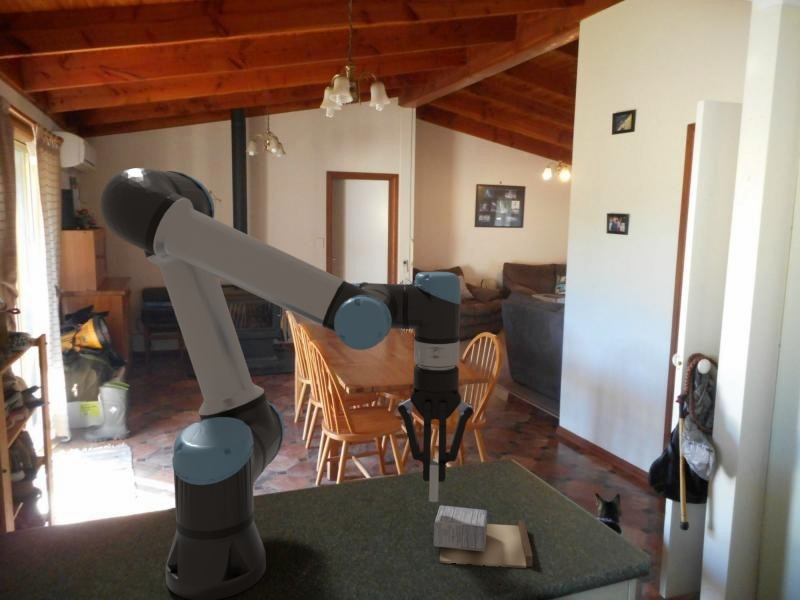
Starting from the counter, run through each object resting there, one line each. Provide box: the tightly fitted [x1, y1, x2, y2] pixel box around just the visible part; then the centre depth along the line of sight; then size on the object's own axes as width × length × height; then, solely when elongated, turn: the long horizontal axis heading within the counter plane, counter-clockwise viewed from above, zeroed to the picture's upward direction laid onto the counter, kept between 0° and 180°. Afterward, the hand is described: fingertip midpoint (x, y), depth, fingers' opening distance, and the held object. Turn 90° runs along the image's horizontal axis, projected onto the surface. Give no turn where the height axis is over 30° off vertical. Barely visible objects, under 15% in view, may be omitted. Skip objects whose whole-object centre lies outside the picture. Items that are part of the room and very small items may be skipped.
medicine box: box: [432, 505, 488, 551], centre depth 107 cm, size 8×4×9 cm
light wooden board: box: [439, 523, 527, 569], centre depth 108 cm, size 14×13×1 cm
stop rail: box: [517, 519, 534, 568], centre depth 107 cm, size 1×12×2 cm, turn 175°
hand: (433, 497), depth 107 cm, fingers closed
